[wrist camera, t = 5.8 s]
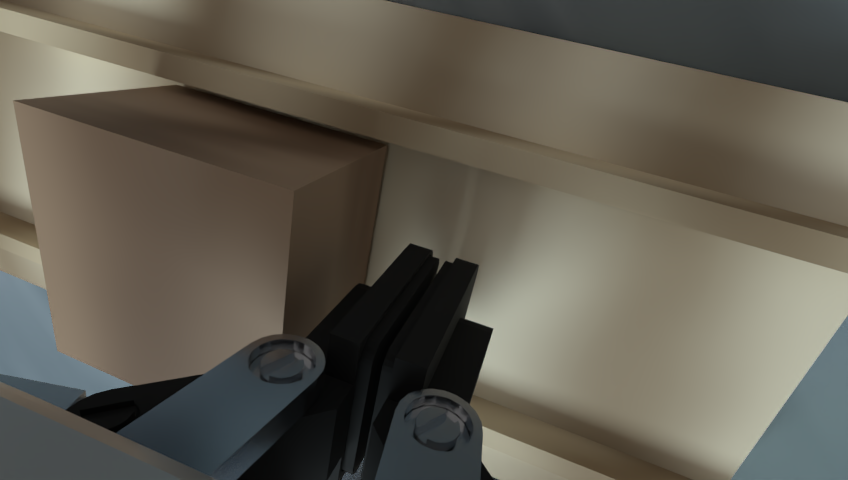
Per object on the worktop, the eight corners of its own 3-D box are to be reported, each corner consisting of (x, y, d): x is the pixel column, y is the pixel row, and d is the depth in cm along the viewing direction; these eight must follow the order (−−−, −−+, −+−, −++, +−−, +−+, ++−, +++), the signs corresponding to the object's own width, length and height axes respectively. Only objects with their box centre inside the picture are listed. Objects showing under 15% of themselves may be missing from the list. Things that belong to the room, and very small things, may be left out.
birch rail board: (923, 119, 9) (1027, 142, 7) (668, 507, 14) (683, 590, 12) (-178, -124, 16) (-303, -152, 14) (-82, 206, 21) (-161, 224, 19)
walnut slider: (387, 145, 11) (294, 191, 8) (353, 344, 14) (273, 448, 10) (176, 84, 12) (12, 100, 9) (182, 278, 15) (57, 350, 11)
